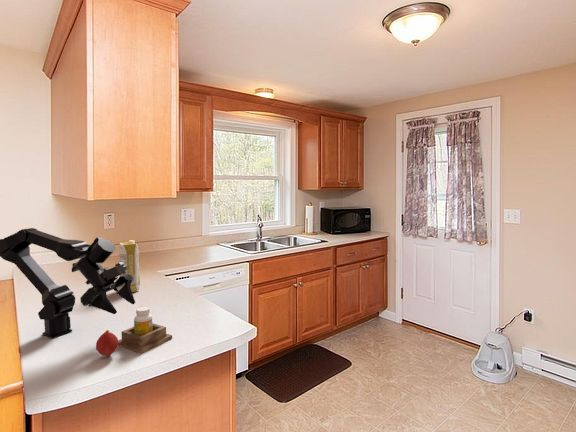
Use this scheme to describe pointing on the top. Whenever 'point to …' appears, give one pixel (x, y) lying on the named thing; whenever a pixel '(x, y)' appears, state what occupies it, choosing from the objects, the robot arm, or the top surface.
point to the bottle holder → (143, 339)
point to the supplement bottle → (143, 321)
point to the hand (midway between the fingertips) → (125, 308)
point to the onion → (107, 343)
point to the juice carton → (130, 262)
